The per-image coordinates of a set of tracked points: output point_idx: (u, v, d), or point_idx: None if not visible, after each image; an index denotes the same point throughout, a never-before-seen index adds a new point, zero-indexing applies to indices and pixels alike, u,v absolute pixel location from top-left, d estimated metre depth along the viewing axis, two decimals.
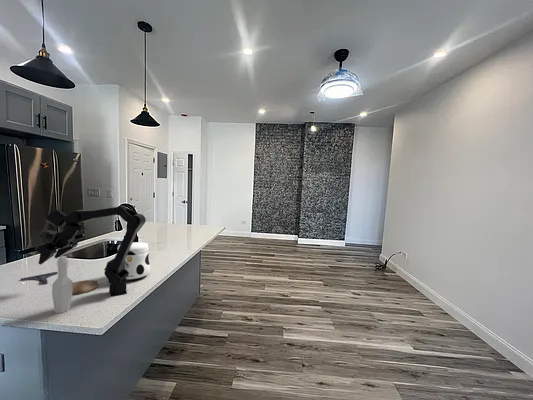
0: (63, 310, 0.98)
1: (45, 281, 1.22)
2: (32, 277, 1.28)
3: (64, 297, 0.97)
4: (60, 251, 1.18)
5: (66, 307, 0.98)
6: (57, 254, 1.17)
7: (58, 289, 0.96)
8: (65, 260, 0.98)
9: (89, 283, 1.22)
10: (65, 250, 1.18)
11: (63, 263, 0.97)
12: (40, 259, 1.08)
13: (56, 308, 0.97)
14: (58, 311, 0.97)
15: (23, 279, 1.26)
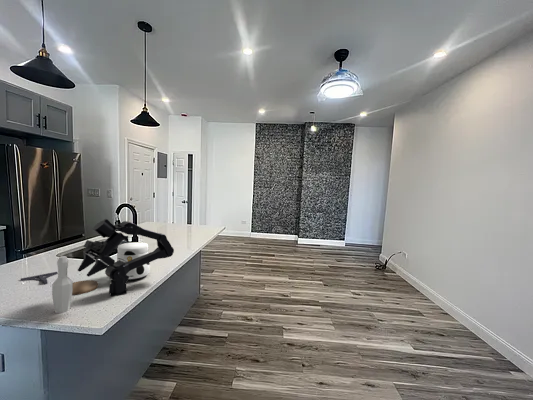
0: (63, 310, 0.98)
1: (45, 281, 1.22)
2: (32, 277, 1.28)
3: (64, 297, 0.97)
4: (85, 263, 1.09)
5: (66, 307, 0.98)
6: (82, 267, 1.08)
7: (58, 289, 0.96)
8: (65, 260, 0.98)
9: (89, 283, 1.22)
10: (91, 262, 1.11)
11: (63, 263, 0.97)
12: (92, 270, 1.03)
13: (56, 308, 0.97)
14: (58, 311, 0.97)
15: (23, 279, 1.26)
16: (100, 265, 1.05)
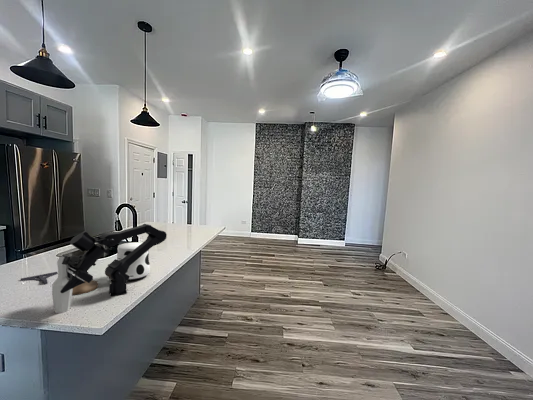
0: (63, 310, 0.98)
1: (45, 281, 1.22)
2: (32, 277, 1.28)
3: (64, 297, 0.97)
4: None
5: (66, 307, 0.98)
6: None
7: (58, 289, 0.96)
8: None
9: (89, 283, 1.22)
10: None
11: None
12: (66, 287, 0.96)
13: (56, 308, 0.97)
14: (58, 311, 0.97)
15: (23, 279, 1.25)
16: (75, 281, 0.99)
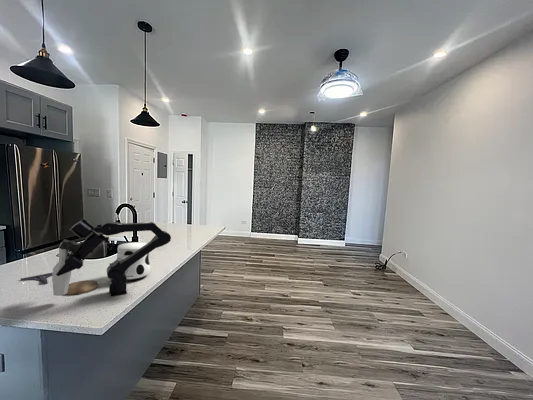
0: (59, 293, 1.02)
1: (45, 281, 1.22)
2: (32, 277, 1.28)
3: (60, 281, 1.02)
4: None
5: (62, 291, 1.03)
6: None
7: (55, 272, 1.01)
8: None
9: (89, 283, 1.22)
10: None
11: None
12: (61, 270, 1.01)
13: (53, 290, 1.02)
14: (55, 294, 1.02)
15: (23, 279, 1.25)
16: (70, 265, 1.02)
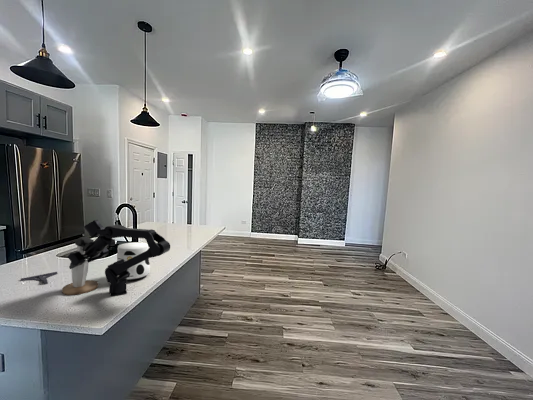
0: (74, 285, 1.17)
1: (45, 281, 1.22)
2: (32, 277, 1.28)
3: (74, 274, 1.16)
4: (91, 257, 1.23)
5: (75, 284, 1.17)
6: (88, 260, 1.23)
7: None
8: None
9: (89, 283, 1.22)
10: (96, 257, 1.23)
11: (78, 246, 1.17)
12: (71, 264, 1.13)
13: None
14: None
15: (23, 279, 1.25)
16: None
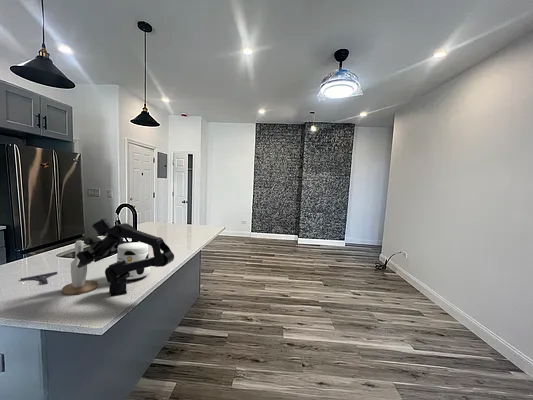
0: (74, 285, 1.17)
1: (45, 281, 1.22)
2: (32, 277, 1.28)
3: (73, 275, 1.16)
4: (99, 256, 1.23)
5: (75, 284, 1.17)
6: (96, 259, 1.23)
7: (71, 266, 1.17)
8: (77, 244, 1.17)
9: (89, 283, 1.22)
10: (104, 256, 1.23)
11: (75, 246, 1.17)
12: (79, 263, 1.13)
13: None
14: None
15: (23, 279, 1.25)
16: None
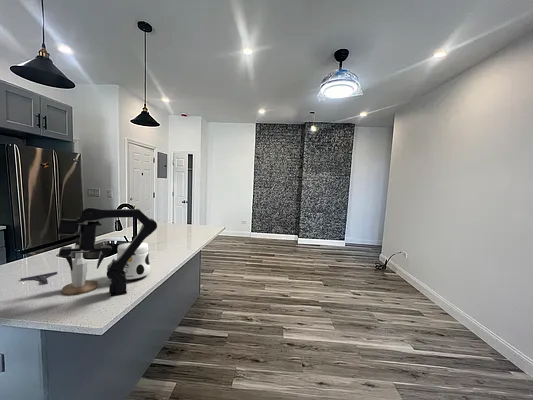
0: (74, 285, 1.17)
1: (45, 281, 1.22)
2: (32, 277, 1.28)
3: (73, 275, 1.16)
4: (98, 260, 1.12)
5: (75, 284, 1.17)
6: (97, 264, 1.12)
7: None
8: None
9: (89, 283, 1.22)
10: (99, 257, 1.11)
11: (75, 246, 1.17)
12: None
13: None
14: None
15: (23, 279, 1.25)
16: None
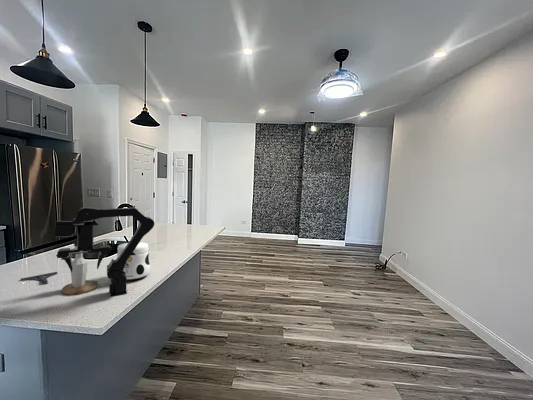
0: (74, 285, 1.17)
1: (45, 281, 1.22)
2: (32, 277, 1.28)
3: (73, 275, 1.16)
4: (98, 260, 1.11)
5: (75, 284, 1.17)
6: (97, 264, 1.11)
7: None
8: None
9: (89, 283, 1.22)
10: (98, 257, 1.10)
11: (75, 246, 1.17)
12: (69, 266, 1.06)
13: None
14: None
15: (23, 279, 1.25)
16: None
